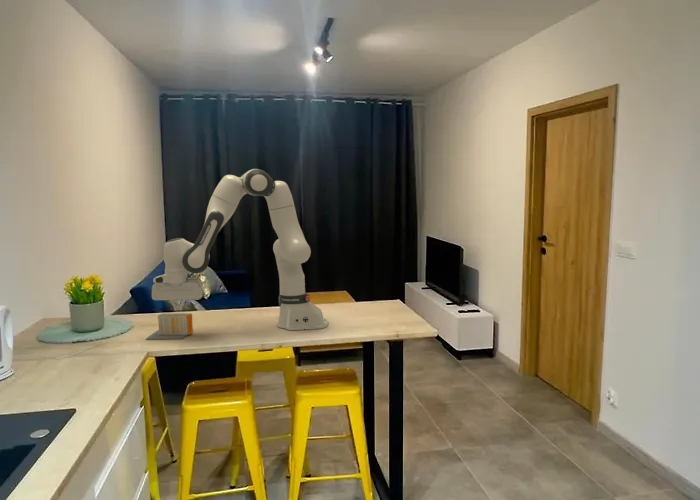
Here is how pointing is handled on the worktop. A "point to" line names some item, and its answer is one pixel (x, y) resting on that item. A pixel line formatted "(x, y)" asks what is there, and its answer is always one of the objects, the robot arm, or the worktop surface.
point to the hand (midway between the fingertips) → (178, 310)
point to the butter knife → (68, 355)
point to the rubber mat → (165, 337)
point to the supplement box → (175, 323)
